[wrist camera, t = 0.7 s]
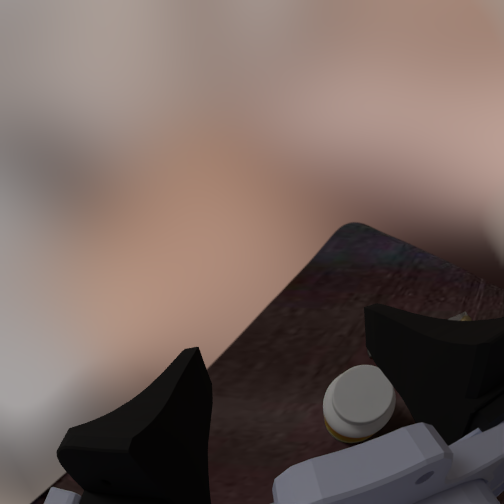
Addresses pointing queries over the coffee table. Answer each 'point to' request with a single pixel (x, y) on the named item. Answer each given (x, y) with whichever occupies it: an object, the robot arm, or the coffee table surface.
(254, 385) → the coffee table surface
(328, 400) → the supplement bottle
